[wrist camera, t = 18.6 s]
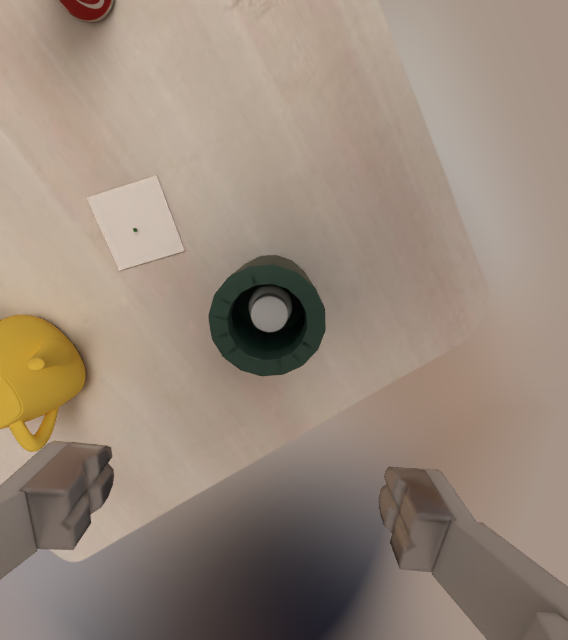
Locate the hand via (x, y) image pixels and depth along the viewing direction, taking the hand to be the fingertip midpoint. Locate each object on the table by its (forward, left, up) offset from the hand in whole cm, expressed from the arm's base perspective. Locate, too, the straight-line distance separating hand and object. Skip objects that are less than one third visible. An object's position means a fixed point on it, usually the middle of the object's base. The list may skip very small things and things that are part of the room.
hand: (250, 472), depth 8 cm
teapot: (+29, +5, -26) cm, 39 cm away
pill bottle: (0, 0, -26) cm, 26 cm away
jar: (0, 0, -26) cm, 26 cm away
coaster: (+14, -9, -26) cm, 31 cm away
